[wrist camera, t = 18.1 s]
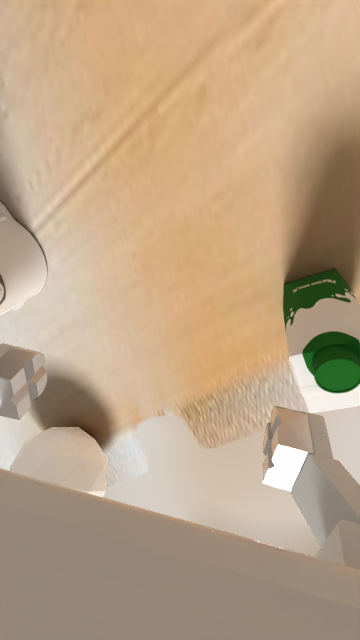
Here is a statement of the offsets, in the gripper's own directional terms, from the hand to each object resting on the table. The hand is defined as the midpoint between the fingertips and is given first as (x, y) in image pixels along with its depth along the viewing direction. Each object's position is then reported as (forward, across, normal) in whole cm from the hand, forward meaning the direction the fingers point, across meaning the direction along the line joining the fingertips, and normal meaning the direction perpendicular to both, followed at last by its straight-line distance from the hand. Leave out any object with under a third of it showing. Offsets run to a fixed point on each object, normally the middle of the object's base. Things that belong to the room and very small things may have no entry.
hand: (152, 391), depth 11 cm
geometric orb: (+37, +24, +57) cm, 72 cm away
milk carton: (+37, -14, +12) cm, 42 cm away
